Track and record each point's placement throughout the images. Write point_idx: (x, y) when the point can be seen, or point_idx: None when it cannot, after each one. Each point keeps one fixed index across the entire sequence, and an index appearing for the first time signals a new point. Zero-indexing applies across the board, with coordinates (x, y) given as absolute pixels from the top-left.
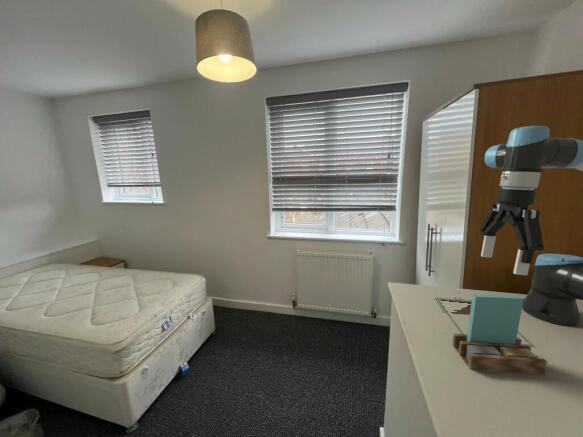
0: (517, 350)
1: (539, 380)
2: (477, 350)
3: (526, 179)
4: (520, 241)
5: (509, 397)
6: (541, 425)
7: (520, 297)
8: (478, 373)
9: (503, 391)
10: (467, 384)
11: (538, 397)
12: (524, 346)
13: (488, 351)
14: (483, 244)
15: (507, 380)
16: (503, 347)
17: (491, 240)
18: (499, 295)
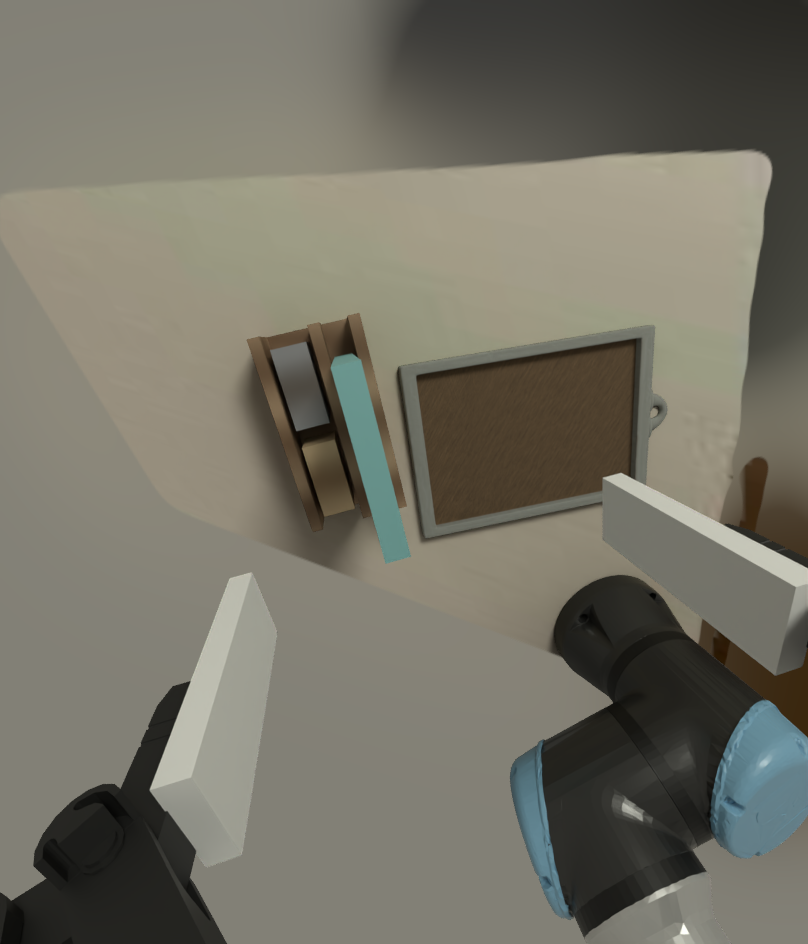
0: (336, 480)
1: None
2: (286, 366)
3: None
4: (159, 922)
5: (204, 411)
6: (144, 447)
7: (395, 557)
8: None
9: (220, 405)
10: (202, 319)
11: (237, 475)
12: (363, 504)
13: (296, 398)
14: (705, 522)
15: (269, 428)
16: (336, 448)
17: (733, 609)
18: (386, 481)
